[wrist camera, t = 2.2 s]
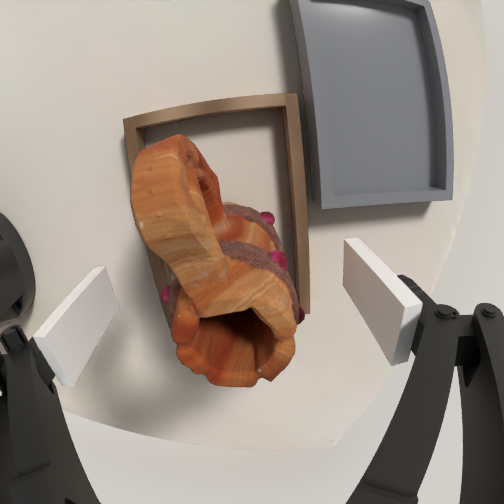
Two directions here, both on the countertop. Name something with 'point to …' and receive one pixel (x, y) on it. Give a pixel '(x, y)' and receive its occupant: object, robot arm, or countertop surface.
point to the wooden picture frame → (295, 171)
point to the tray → (374, 102)
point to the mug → (215, 268)
